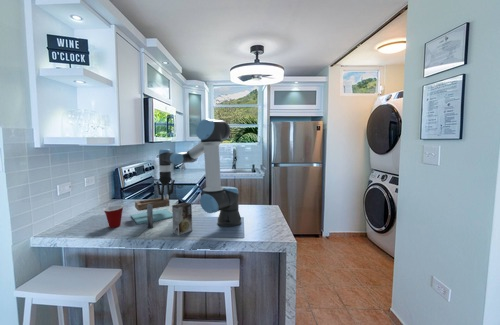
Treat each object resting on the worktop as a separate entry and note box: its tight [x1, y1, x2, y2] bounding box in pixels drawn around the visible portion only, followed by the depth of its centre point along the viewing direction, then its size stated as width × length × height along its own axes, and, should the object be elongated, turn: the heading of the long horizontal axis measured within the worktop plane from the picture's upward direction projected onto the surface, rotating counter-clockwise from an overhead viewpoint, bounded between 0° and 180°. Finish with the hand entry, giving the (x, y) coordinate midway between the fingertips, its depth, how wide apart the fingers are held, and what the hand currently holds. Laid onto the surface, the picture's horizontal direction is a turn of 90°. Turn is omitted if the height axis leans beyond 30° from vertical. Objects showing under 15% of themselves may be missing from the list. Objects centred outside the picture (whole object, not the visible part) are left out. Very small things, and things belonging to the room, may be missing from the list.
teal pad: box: [130, 208, 173, 225], centre depth 163 cm, size 20×24×1 cm
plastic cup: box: [102, 204, 124, 229], centre depth 144 cm, size 11×11×12 cm
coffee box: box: [171, 201, 193, 236], centre depth 135 cm, size 9×6×16 cm
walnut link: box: [134, 197, 170, 212], centre depth 162 cm, size 10×20×4 cm, turn 127°
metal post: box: [146, 204, 154, 229], centre depth 142 cm, size 3×3×14 cm
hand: (165, 204), depth 168 cm, fingers closed on walnut link, 2 cm apart
